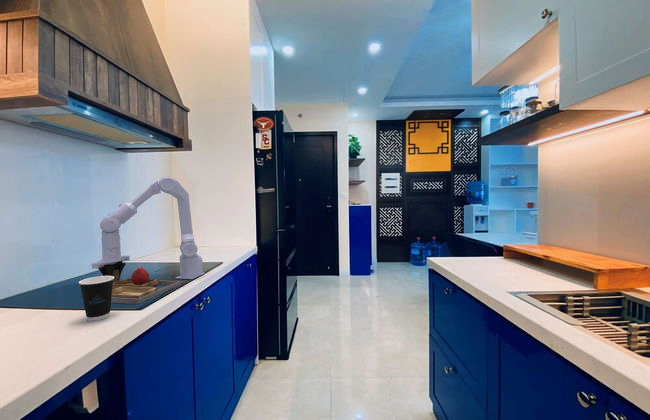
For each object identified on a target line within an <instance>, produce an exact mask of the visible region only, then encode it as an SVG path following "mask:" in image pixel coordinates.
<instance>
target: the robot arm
mask: <svg viewBox="0 0 650 420" xmlns="http://www.w3.org/2000/svg"><path fill="white" fill-rule="evenodd" d="M162 192H163V193H166V194H169V195H171V196H172V197H174V198H175V199H176V200H177V208H178V209H177V210H178V220H179V228H180V229H179V230H180V236H181V237H180V238H181V242H180V245H179V249H180V252H181V254H180V255H179V276H176V277H175V279H177V280H178V279H180V280H193V279H196V278H198V277H200V276H202V275H204V274H205V272H204V270H203V266H204V265H203V263H204V262H203V257H202V256H201V255H200V254H198V253H197V252H198V246H197V244H196V243H195V238H194V234H193V233H194V232H193V231H194V230H193V224H192V215H191V214H192V213H191V206H190V195H189V192H187V190H186V189H185V188H184V187H183V185H181V183H180V182H179V181H178V180H176V179H175V178H173V177H171V176H163V177H161V178H160V179H159V181H158V180H156V181H155V182H154V183H152V184H150V185H149V186H148V187H146V188H145V189H144V190H143V191H142V192H141V193H140V194H138V195H137V196H136V197H135V198H134V199H133V200H132V201H130V202H123V203H120V204H118V205H117V208H115V210H113V211H112V212H109V213H108V214H107V216H106V217H104V218H102V219H101V221H100V223H99V228H100V230H101V255H102V256H101V257H102V259H101V260H98V261H95V262H92V263H91V269H98V271H99V272H100V273H101V276H113V272H114V269H119V280H120V279H121V275H122V272H123V270H124V268H125V267H126V265H127V264H126V262H125V261H128V262H129V261H130V259H131V256H130V255H123V256H122V255H121V253H122V251H121V235H120V228H121V226H122V225H123V224H126V222H128V221H129V220H130V219H131V218H132V217H134V216H135V215H136V214H137V213H138V208H139V207H140V206H142V205H143V204H144V203H145V202H147V201H148V200H149V199H150V198H152V197H153V196H155V195H159V194H162Z"/></svg>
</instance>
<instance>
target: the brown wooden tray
mask: <svg viewBox="0 0 650 420" xmlns="http://www.w3.org/2000/svg"><path fill="white" fill-rule="evenodd" d="M181 283H182V281H181V280H162V279H161V280H160V279H159V285H158V286H161V285H162V286H164V287H161V288H157V291H155V292H152V293H150V294H148V295H145V296H143V297H141V298H117V297H112V298H111V304H128V305H129V304H131V305H140V304H142V303H145V302H146V300H147V301H148V299H149V300H151V299H153V298H155V297H154V296H156V297H157V295H158V296H160V295H162V294H164V293H166V292H165V291H167V292H168V290H169V291H171V290H173V289H175V288H177V286H178V287H180V286H181V285H182V284H181ZM179 285H180V286H179ZM172 288H173V289H172ZM170 289H171V290H170ZM163 292H164V293H163ZM161 293H162V294H161ZM159 294H160V295H159ZM152 297H153V298H152ZM150 298H151V299H150ZM144 301H145V302H144Z"/></svg>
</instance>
